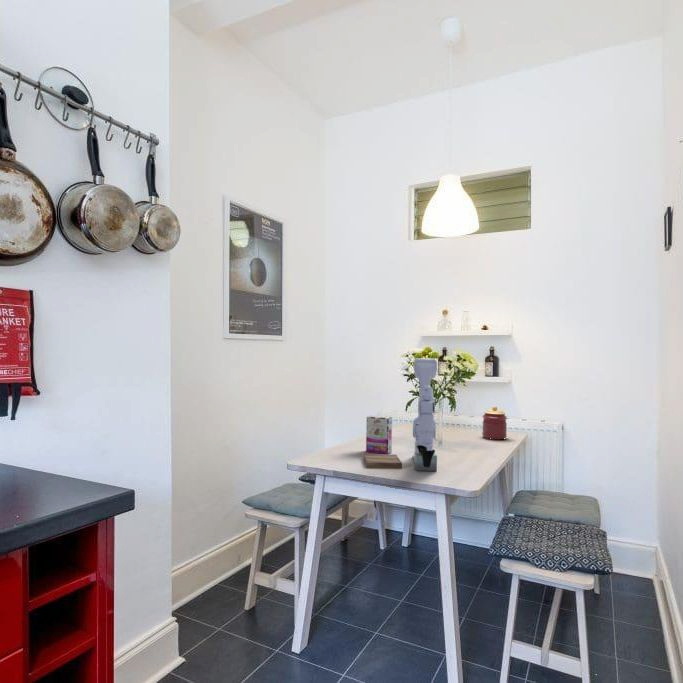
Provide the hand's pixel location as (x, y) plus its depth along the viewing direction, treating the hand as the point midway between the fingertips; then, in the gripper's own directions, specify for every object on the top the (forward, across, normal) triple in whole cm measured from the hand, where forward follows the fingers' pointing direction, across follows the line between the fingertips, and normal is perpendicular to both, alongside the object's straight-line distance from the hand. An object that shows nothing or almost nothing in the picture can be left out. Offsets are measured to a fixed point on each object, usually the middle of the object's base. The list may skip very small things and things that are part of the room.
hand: (425, 465), depth 194 cm
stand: (+2, -10, -16) cm, 19 cm away
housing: (+2, 0, 0) cm, 2 cm away
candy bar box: (+2, -32, -15) cm, 35 cm away
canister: (+2, -74, +54) cm, 92 cm away
